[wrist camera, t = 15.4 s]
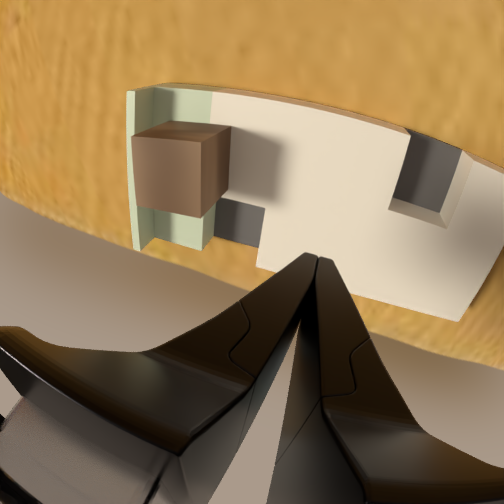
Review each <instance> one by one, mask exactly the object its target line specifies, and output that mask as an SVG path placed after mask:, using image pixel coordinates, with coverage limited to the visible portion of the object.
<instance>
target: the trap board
mask: <svg viewBox="0 0 504 504" xmlns="http://www.w3.org/2000/svg"><path fill="white" fill-rule="evenodd" d="M167 121H185V122H197V123H209V124H219V125H228V126H231V143H230V163H229V184H228V190H227V191H226V192H225V193H224V194H223V195H222V197H221V198H220V199H219V200H218V201H217V202H216V203H215V204H214V205H213V206H212V207H211V208H210V209H209V210H208V211H207V212H206V214H205V215H204V216H203V217H202V218H201V219H200V218H195V217H190V216H185V215H180V214H176V213H171V212H166V211H161V210H156V209H151V208H146V207H141V206H136V196H135V186H134V175H133V162H132V147H131V136H133V135H135V134H138V133H140V132H142V131H145V130H147V129H150V128H152V127H155V126H157V125H160V124H162V123H165V122H167ZM126 133H127V171H128V190H129V205H130V218H131V229H132V240H133V249H135V250H138V251H141V250H142V249H143V248H144V247H145V246H146V245H147V244H148V243H149V242H150V241H151V240H152V239H153V238H154V237H156V238H159V239H163V240H166V241H169V242H173V243H176V244H180V245H183V246H186V247H190V248H193V249H197V250H200V251H202V250H203V249H204V247H205V246H206V245H207V243H208V242H209V241H210V240H211V238H212V237H213V236H217V237H220V238H224V239H227V240H231V241H235V242H238V243H242V244H246V245H249V246H253V247H257V248H259V250H258V256H257V262H256V267H259V268H263V269H266V270H270V271H273V272H278V271H280V270H281V269H283V268H284V267H285V266H287V265H288V264H289V263H291V262H292V261H293V260H295V259H296V258H297V257H299V256H300V255H301V254H303V253H304V252H308V253H311V254H315V255H317V256H318V258H319V257H320V256H322V257H326V258H330V259H332V260H333V261H334V263H335V265H336V267H337V269H338V271H339V273H340V275H341V277H342V279H343V281H344V283H345V285H346V287H347V289H348V291H349V293H352V294H356V295H359V296H363V297H366V298H370V299H374V300H377V301H381V302H385V303H388V304H392V305H396V306H400V307H403V308H407V309H411V310H414V311H418V312H422V313H426V314H429V315H433V316H437V317H441V318H445V319H448V320H452V321H456V322H458V321H459V320H460V318H461V317H462V315H463V314H464V312H465V311H466V309H467V308H468V306H469V305H470V303H471V302H472V300H473V298H474V297H475V295H476V294H477V292H478V290H479V289H480V287H481V285H482V284H483V282H484V280H485V279H486V277H487V275H488V274H489V272H490V270H491V268H492V266H493V265H494V263H495V261H496V259H497V257H498V255H499V254H500V252H501V250H502V248H503V246H504V169H503V168H501V167H499V166H497V165H495V164H493V163H491V162H489V161H487V160H485V159H482V158H480V157H478V156H476V155H473V154H471V153H469V152H467V151H464V150H462V149H460V148H457V147H455V146H452V145H450V144H447V143H445V142H442V141H440V140H437V139H434V138H432V137H429V136H426V135H424V134H421V133H418V132H415V131H412V130H409V129H406V128H403V127H400V126H397V125H394V124H391V123H388V122H385V121H382V120H378V119H375V118H371V117H368V116H364V115H361V114H357V113H354V112H350V111H346V110H342V109H338V108H334V107H330V106H326V105H321V104H317V103H313V102H308V101H303V100H298V99H293V98H288V97H283V96H277V95H272V94H266V93H259V92H253V91H246V90H239V89H231V88H223V87H214V86H204V85H193V84H179V83H163V84H157V85H152V86H147V87H142V88H137V89H133V90H128V91H127V111H126Z"/></svg>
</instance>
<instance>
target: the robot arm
mask: <svg viewBox="0 0 504 504" xmlns="http://www.w3.org/2000/svg"><path fill="white" fill-rule="evenodd" d="M299 323H300V324H299ZM298 326H299V328H298ZM297 328H298V334H297V341H296V348H295V355H294V361H293V367H292V373H291V380H290V386H289V392H288V397H287V403H286V409H285V414H284V420H283V425H282V431H281V436H280V441H279V446H278V451H277V456H276V462H275V467H274V471H273V475H272V480H271V485H270V489H269V494H268V499H267V503H266V504H504V468H500V467H496V466H493V465H490V464H488V463H485V462H483V461H481V460H479V459H477V458H475V457H473V456H471V455H469V454H467V453H465V452H462V451H460V450H459V449H456V448H455V447H453V446H451V445H449V444H447V443H445V442H443V441H441V440H439V439H437V438H435V437H433V436H432V435H430V434H428V433H427V432H426V431H425V430H423V428H422V427H421V426H420V425H419V424H418V423H417V421H416V420H415V418H414V417H413V415H412V413H411V412H410V410H409V409H408V406H407V405H406V403H405V401H404V399H403V398H402V396H401V394H400V393H399V391H398V389H397V387H396V386H395V384H394V382H393V380H392V379H391V377H390V375H389V373H388V371H387V370H386V368H385V366H384V364H383V362H382V360H381V358H380V356H379V354H378V352H377V350H376V348H375V346H374V343H373V341H372V339H370V335H369V333H368V331H367V328H366V326H365V324H364V322H363V320H362V318H361V316H360V314H359V311H358V309H357V307H356V305H355V303H354V301H353V299H352V297H351V295H350V293H349V291H348V289H347V287H346V285H345V283H344V281H343V279H342V277H341V275H340V273H339V271H338V269H337V267H336V265H335V263H334V261H333V260H332V259H330V258H326V257H322V256H320V257H319V258H318V256H317V255H315V254H311V253H308V252H304V253H303V254H301V255H300V256H299V257H297V258H296V259H295V260H293V261H292V262H291V263H289V264H288V265H287V266H285V267H284V268H283V269H281V270H280V271H278V272H277V273H276V274H274V275H273V276H272V277H270V278H269V279H268V280H266V281H265V282H264V283H262V284H261V285H259V286H258V287H257V288H255V289H254V290H253V291H251V292H250V293H249V294H247V295H246V296H244V297H243V298H242V299H240V300H239V302H236V303H235V304H233V305H232V306H230V307H229V308H228V309H226V310H225V311H223V312H221V313H220V314H219V315H217V316H215V317H214V318H212V319H210V320H208V321H206V322H205V323H203V324H201V325H199V326H197V327H195V328H194V329H192V330H190V331H188V332H186V333H184V334H182V335H180V336H178V337H176V338H174V339H172V340H170V341H168V342H166V343H164V344H162V345H160V346H158V347H156V348H153V349H150V350H147V351H142V352H118V351H103V350H91V349H79V348H69V347H63V346H57V345H54V344H50V343H48V342H45V341H43V340H41V339H39V338H37V337H36V336H34V335H33V334H31V333H30V332H28V331H27V330H25V329H23V328H21V327H17V326H0V369H1V370H2V371H3V373H4V374H5V376H6V377H7V378H8V379H9V381H10V382H11V383H12V385H13V386H14V387H15V388H16V390H17V391H18V392H19V393H20V395H21V396H22V397H21V398H20V399H19V400H18V402H17V403H16V404H15V406H14V407H13V408H12V410H11V411H10V413H9V414H8V415H7V417H6V418H4V417H3V416H2V415H1V414H0V504H208V502H209V500H210V499H211V497H212V495H213V494H214V492H215V490H216V488H217V487H218V485H219V483H220V481H221V480H222V478H223V476H224V474H225V473H226V471H227V469H228V467H229V465H230V464H231V462H232V460H233V458H234V456H235V454H236V453H237V451H238V449H239V447H240V445H241V443H242V442H243V440H244V438H245V436H246V434H247V432H248V430H249V428H250V426H251V424H252V423H253V420H254V419H255V417H256V415H257V413H258V411H259V409H260V407H261V405H262V403H263V401H264V399H265V397H266V395H267V393H268V391H269V389H270V387H271V385H272V383H273V380H274V378H275V376H276V374H277V372H278V370H279V368H280V366H281V364H282V362H283V360H284V357H285V355H286V353H287V351H288V349H289V347H290V344H291V342H292V340H293V337H294V335H295V333H296V331H297Z"/></svg>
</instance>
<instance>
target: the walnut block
mask: <svg viewBox="0 0 504 504" xmlns="http://www.w3.org/2000/svg"><path fill="white" fill-rule="evenodd" d="M230 143H231V126H228V125H219V124H209V123H197V122H185V121H167V122H165V123H162V124H160V125H157V126H155V127H152V128H150V129H147V130H145V131H142V132H140V133H138V134H135V135H133V136H131V147H132V162H133V175H134V186H135V196H136V206H141V207H146V208H151V209H156V210H161V211H166V212H171V213H176V214H180V215H185V216H190V217H195V218H200V219H201V218H202V217H203V216H204V215H205V214H206V212H207V211H208V210H209V209H210V208H211V207H212V206H213V205H214V204H215V203H216V202H217V201H218V200H219V199H220V198H221V197H222V195H223V194H224V193H225V192H226V191H227V190H228V184H229V163H230Z"/></svg>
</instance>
